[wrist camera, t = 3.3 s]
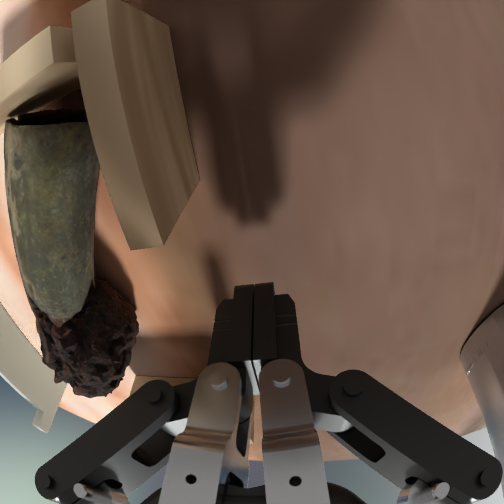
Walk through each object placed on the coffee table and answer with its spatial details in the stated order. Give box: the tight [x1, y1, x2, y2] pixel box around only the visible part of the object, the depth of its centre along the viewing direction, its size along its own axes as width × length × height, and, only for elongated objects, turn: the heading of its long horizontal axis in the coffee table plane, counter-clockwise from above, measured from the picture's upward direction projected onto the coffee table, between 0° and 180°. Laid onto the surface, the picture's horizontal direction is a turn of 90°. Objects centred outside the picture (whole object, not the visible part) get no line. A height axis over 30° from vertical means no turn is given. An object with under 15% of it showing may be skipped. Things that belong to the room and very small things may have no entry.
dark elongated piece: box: [4, 109, 139, 398], centre depth 12 cm, size 18×7×6 cm, turn 163°
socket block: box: [0, 0, 255, 444], centre depth 12 cm, size 10×22×5 cm, turn 9°
